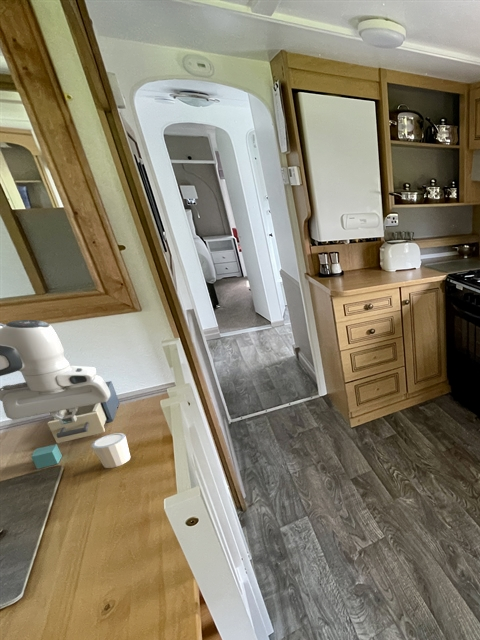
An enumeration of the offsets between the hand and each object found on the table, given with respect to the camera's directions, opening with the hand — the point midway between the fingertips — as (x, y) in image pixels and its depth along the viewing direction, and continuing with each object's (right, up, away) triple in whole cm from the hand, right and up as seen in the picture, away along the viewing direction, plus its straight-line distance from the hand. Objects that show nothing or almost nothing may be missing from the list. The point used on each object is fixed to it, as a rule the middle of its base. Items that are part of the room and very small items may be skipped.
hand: (69, 422), depth 106 cm
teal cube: (-1, -10, -4) cm, 11 cm away
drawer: (-3, -4, +7) cm, 9 cm away
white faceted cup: (+17, -10, -4) cm, 20 cm away
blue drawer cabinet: (-10, -1, +17) cm, 19 cm away
